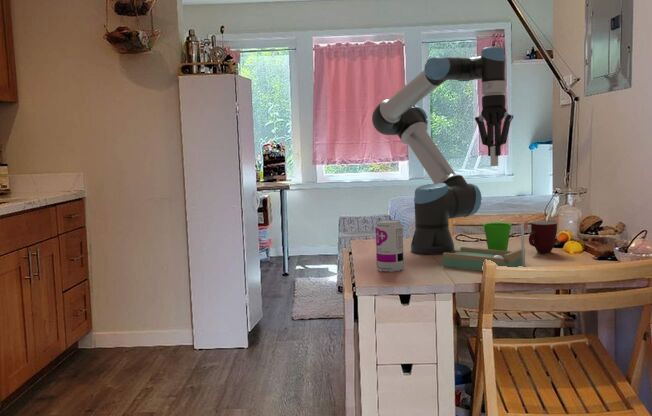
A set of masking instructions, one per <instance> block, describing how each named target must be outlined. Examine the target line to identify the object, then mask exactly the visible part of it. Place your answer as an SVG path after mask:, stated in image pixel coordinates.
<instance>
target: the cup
mask: <svg viewBox="0 0 652 416" xmlns="http://www.w3.org/2000/svg"><path fill="white" fill-rule="evenodd" d="M482 226H483V227H484V232H485V233H484V234H485V239H486V245H487V249H492V250H503V251H508V247H509V240H510V235H511V234H510V232H511V227H512V223H511V222H501V221H499V222H495V221H494V222H485V223H483V224H482Z"/></svg>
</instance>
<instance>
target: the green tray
mask: <svg viewBox="0 0 652 416" xmlns="http://www.w3.org/2000/svg"><path fill="white" fill-rule="evenodd" d="M495 255H499V256H502V257H503V258H495V257H493V256H495ZM485 259H487V260H491V261H493V262H495V263H496V264H497V265H498V266H507V267H518V266H522V249H521V247H520V248H518V249H516V250H507V251H503V250H492V249H488V248H479V247H477V248H476V247H470V246H469V247H468V246H461V247H460V250H459V251H456V252H449V253H445V252H444V253H443V254H442V262H443V263H442V267H447V268H453V267H455V269H463V270H472V271H480V272H481V271H482V266H483V262H484V260H485ZM524 264H525V265H526V248H524ZM482 272H483V271H482Z"/></svg>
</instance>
